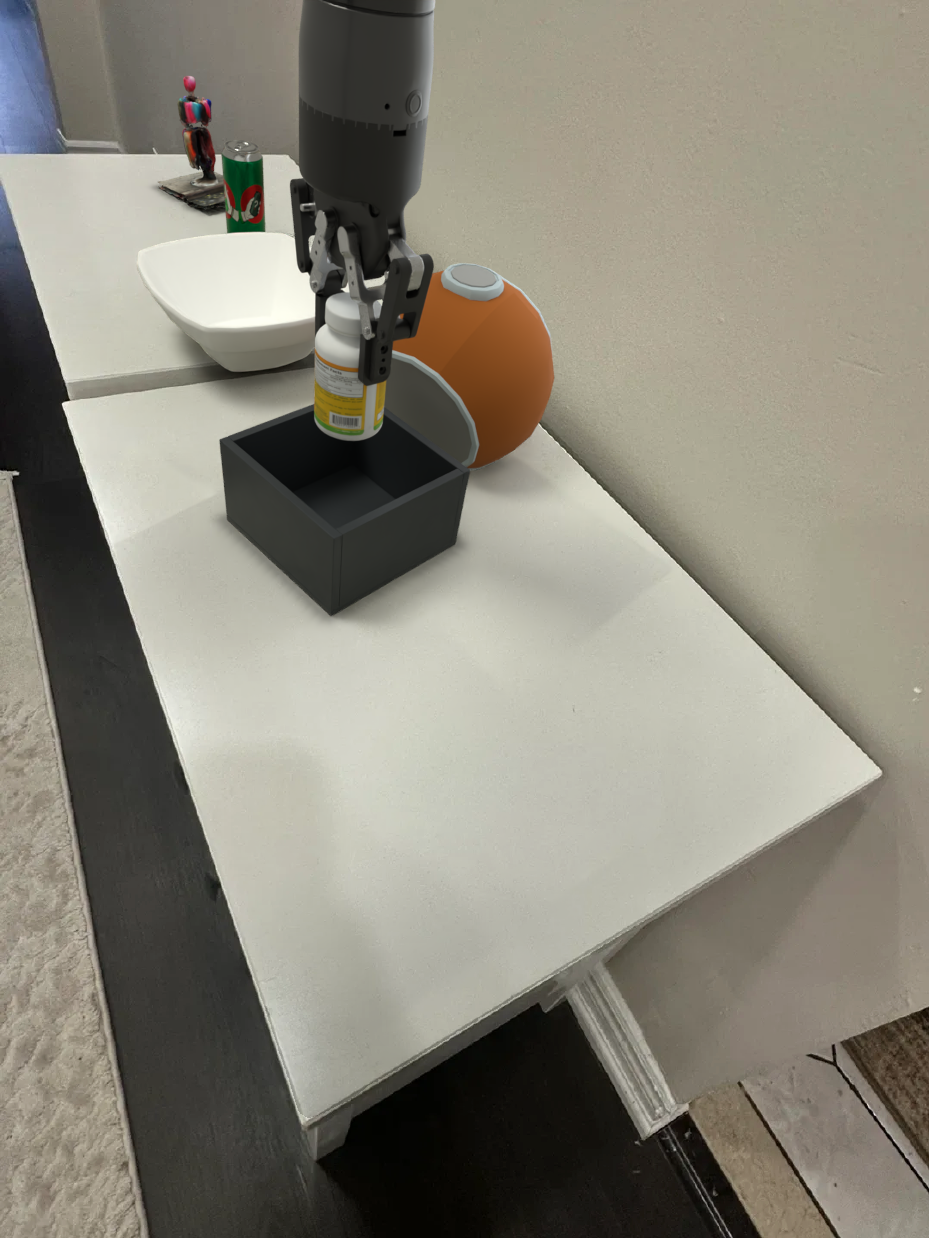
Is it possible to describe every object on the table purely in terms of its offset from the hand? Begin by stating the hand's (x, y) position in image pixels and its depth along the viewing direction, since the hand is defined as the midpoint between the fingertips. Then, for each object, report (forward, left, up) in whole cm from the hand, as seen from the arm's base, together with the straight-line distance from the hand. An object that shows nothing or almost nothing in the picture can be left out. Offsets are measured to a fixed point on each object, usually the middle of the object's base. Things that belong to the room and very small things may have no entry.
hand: (351, 360), depth 57 cm
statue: (+21, +72, -17) cm, 77 cm away
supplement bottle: (0, 0, -6) cm, 6 cm away
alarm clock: (+18, +8, -17) cm, 26 cm away
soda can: (+19, +56, -17) cm, 62 cm away
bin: (0, 0, -17) cm, 17 cm away
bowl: (+7, +31, -17) cm, 36 cm away
